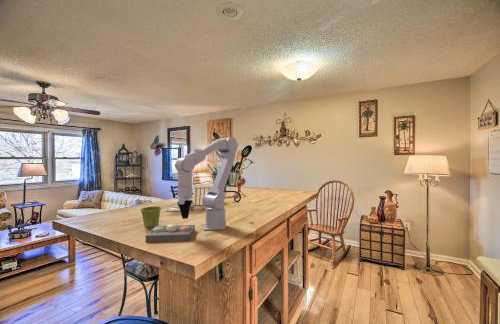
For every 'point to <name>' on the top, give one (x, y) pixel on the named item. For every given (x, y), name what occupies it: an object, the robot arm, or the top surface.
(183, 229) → the button terracotta
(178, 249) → the top surface
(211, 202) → the robot arm
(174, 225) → the button ivory
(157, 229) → the button sage
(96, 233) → the top surface
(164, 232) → the button box
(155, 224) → the plant pot
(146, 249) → the top surface
